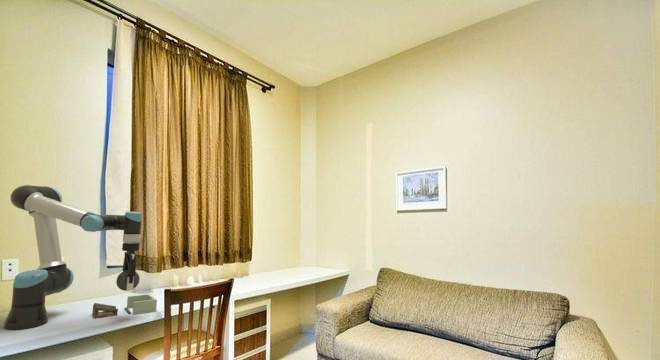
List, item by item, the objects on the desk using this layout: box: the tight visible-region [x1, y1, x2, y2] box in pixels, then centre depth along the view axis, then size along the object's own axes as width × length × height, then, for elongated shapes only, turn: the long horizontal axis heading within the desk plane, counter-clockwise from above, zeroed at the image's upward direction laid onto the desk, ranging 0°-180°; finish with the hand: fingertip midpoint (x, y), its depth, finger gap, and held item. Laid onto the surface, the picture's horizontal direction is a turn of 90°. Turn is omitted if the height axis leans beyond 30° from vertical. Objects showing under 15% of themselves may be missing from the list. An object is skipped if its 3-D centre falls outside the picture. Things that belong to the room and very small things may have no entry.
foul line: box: [124, 306, 132, 315], centre depth 182 cm, size 1×11×1 cm, turn 40°
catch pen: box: [126, 293, 158, 316], centre depth 187 cm, size 11×15×6 cm
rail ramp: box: [91, 302, 119, 319], centre depth 176 cm, size 10×9×6 cm
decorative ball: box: [115, 270, 140, 292], centre depth 174 cm, size 10×10×10 cm
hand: (127, 287), depth 173 cm, fingers closed on decorative ball, 10 cm apart
